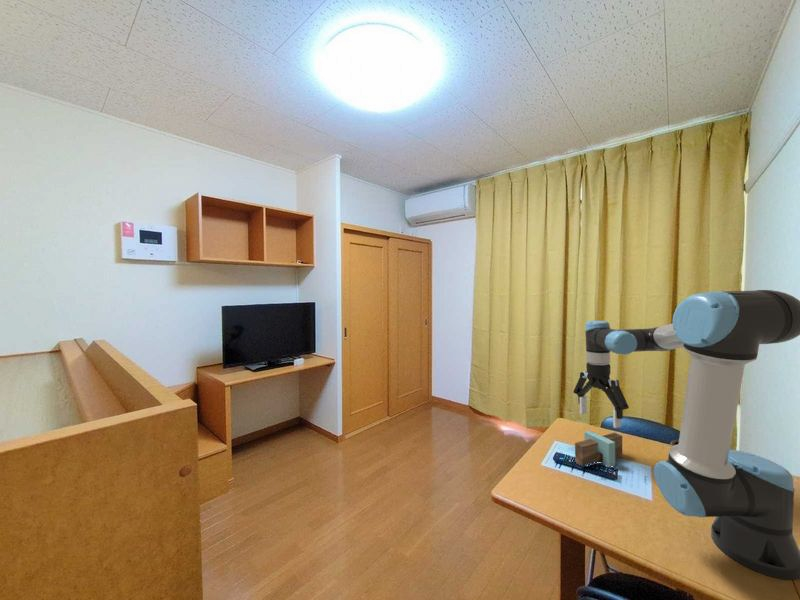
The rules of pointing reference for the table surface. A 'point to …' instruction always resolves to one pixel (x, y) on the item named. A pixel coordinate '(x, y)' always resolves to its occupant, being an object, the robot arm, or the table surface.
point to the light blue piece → (603, 447)
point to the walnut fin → (595, 450)
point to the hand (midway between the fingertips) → (599, 419)
